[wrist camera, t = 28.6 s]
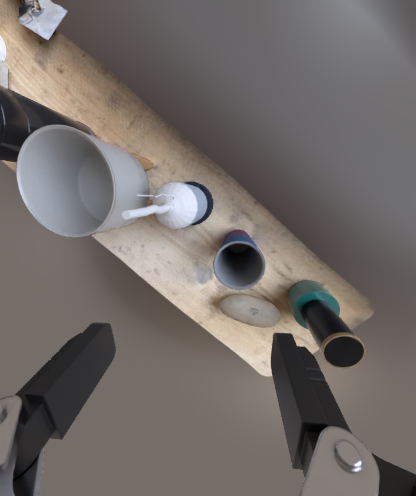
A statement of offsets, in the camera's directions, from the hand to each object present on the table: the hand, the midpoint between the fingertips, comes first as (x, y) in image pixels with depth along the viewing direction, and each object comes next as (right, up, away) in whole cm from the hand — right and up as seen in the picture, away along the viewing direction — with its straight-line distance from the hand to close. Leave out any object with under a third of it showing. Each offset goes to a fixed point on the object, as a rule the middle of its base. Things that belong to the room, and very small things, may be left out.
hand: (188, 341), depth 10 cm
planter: (-14, +16, +32) cm, 38 cm away
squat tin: (+22, -6, +32) cm, 39 cm away
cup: (+7, +6, +31) cm, 33 cm away
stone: (+10, -8, +34) cm, 36 cm away
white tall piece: (-2, +13, +31) cm, 34 cm away
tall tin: (+21, -7, +27) cm, 35 cm away
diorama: (-28, +46, +24) cm, 59 cm away
